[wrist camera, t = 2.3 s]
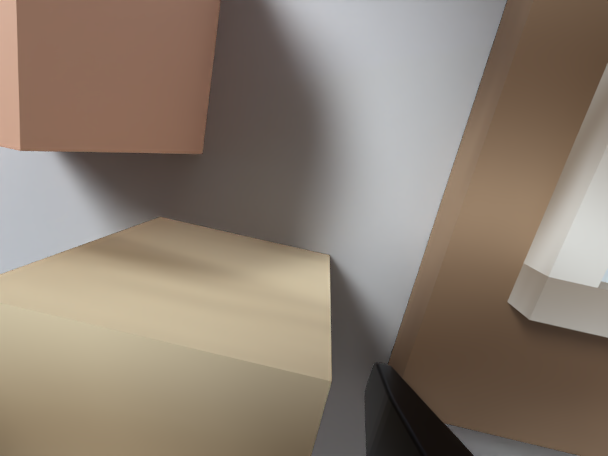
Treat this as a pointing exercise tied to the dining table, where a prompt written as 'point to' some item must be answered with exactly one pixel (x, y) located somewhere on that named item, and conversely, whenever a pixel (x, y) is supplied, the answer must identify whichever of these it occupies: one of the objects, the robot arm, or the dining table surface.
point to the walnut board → (523, 243)
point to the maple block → (166, 347)
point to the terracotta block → (106, 74)
